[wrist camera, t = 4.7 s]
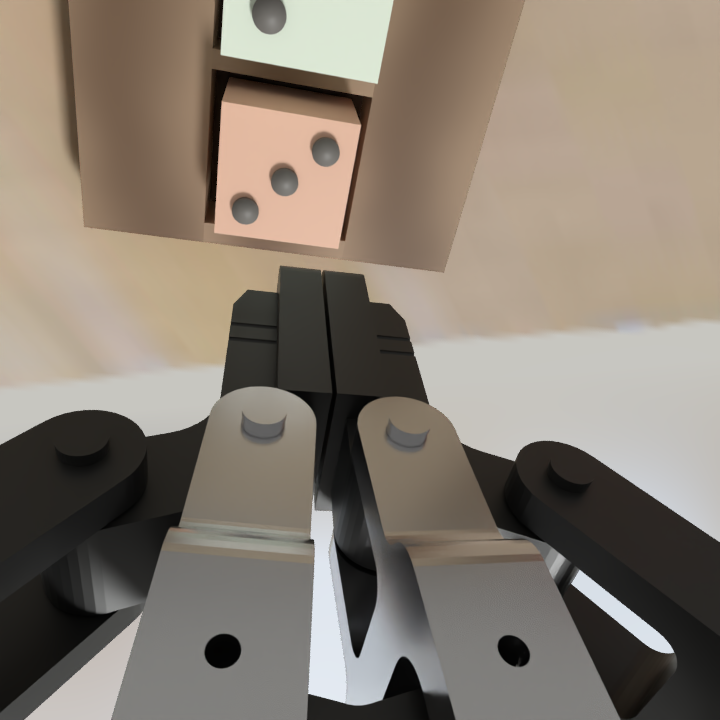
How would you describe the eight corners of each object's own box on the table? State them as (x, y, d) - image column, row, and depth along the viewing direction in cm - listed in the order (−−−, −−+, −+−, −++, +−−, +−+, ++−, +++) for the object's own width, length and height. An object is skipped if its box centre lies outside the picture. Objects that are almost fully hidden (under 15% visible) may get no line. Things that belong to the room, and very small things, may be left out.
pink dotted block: (351, 98, 23) (361, 126, 20) (331, 211, 25) (338, 251, 22) (229, 77, 22) (221, 102, 19) (222, 195, 24) (213, 235, 21)
